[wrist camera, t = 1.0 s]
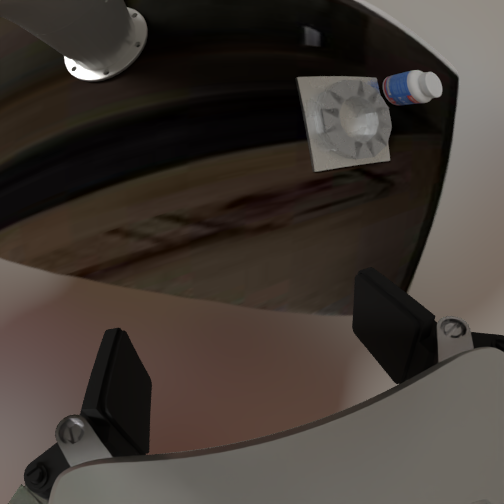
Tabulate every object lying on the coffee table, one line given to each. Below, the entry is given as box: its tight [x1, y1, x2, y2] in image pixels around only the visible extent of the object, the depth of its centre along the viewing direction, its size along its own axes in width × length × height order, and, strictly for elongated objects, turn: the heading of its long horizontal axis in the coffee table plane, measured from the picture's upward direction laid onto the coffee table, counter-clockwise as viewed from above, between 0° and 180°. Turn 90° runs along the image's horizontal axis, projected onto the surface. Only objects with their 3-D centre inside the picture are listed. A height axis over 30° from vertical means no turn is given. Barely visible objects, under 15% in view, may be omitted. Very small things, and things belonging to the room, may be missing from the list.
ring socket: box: [295, 76, 392, 172], centre depth 34 cm, size 14×14×4 cm
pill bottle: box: [383, 70, 442, 105], centre depth 31 cm, size 6×5×10 cm
